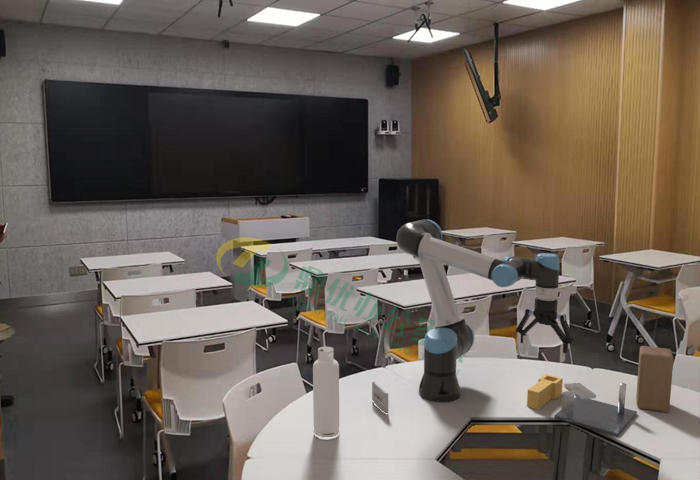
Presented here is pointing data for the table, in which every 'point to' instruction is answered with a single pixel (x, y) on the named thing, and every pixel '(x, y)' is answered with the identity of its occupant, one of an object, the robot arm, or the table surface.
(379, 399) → the cassette
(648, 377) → the wooden block
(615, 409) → the base
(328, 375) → the bottle
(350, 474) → the table surface
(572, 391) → the block
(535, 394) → the link
